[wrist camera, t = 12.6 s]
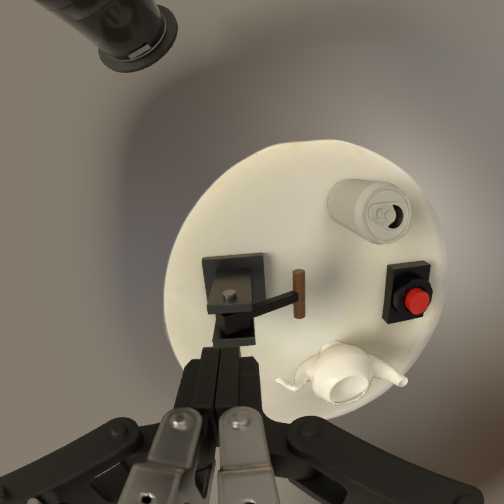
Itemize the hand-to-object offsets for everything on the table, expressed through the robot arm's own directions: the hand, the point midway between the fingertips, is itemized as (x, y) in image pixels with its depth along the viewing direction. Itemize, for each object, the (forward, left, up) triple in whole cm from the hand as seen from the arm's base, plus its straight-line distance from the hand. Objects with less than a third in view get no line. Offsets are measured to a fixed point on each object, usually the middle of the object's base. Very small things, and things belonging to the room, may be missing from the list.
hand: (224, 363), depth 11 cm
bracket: (+7, -1, -27) cm, 28 cm away
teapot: (+21, +13, -27) cm, 37 cm away
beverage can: (-3, +15, -27) cm, 31 cm away
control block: (+11, +25, -27) cm, 38 cm away
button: (+11, +25, -23) cm, 36 cm away
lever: (+7, +2, -20) cm, 21 cm away
